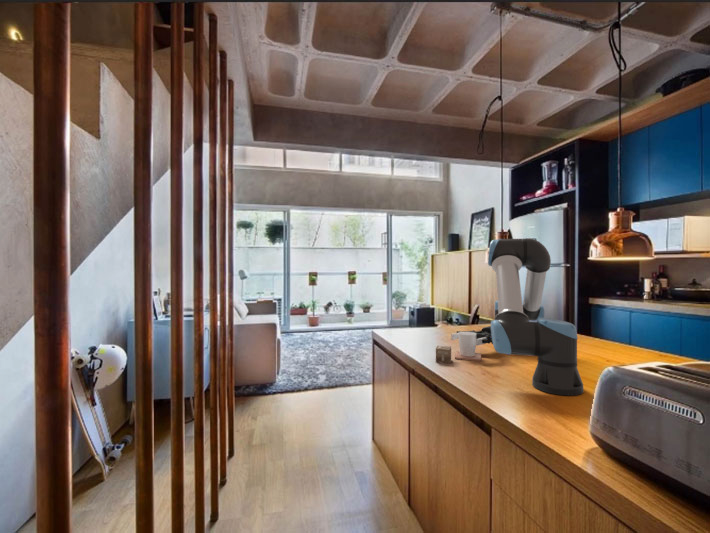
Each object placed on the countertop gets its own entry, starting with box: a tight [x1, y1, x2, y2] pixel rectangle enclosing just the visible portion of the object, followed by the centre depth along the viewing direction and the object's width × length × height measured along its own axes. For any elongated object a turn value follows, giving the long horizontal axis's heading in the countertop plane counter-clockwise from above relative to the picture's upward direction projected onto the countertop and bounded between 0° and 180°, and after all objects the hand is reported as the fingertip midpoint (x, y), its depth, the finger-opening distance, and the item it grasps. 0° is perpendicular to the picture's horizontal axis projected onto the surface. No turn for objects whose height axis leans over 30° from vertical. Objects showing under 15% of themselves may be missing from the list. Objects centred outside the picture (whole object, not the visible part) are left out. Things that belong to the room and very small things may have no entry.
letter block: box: [435, 345, 452, 364], centre depth 153 cm, size 6×6×6 cm
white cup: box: [458, 332, 477, 357], centre depth 160 cm, size 8×8×10 cm
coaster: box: [454, 351, 482, 362], centre depth 159 cm, size 11×11×1 cm
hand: (463, 339), depth 157 cm, fingers open, 13 cm apart
